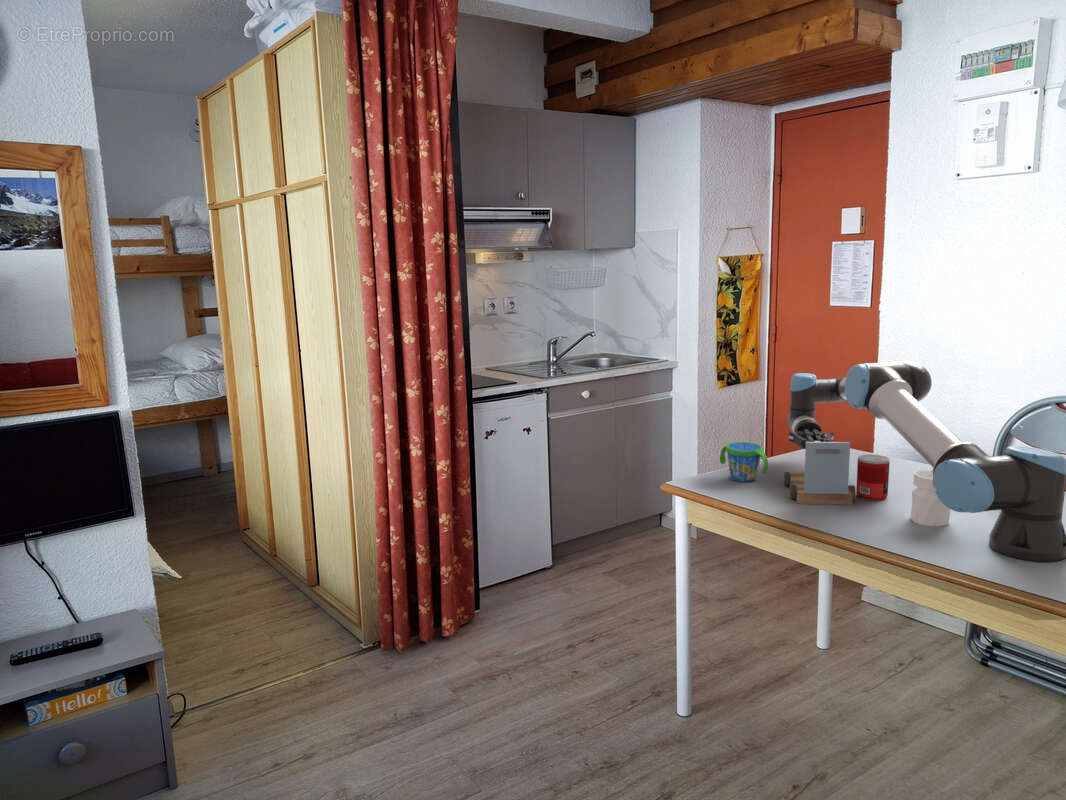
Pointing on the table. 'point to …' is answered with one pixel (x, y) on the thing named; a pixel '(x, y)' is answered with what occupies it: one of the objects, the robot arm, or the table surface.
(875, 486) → the canned food
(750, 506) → the table surface
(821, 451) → the grey flat slab
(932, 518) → the vase
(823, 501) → the flatbed
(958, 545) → the table surface
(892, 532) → the table surface
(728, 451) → the snack cup
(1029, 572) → the table surface
